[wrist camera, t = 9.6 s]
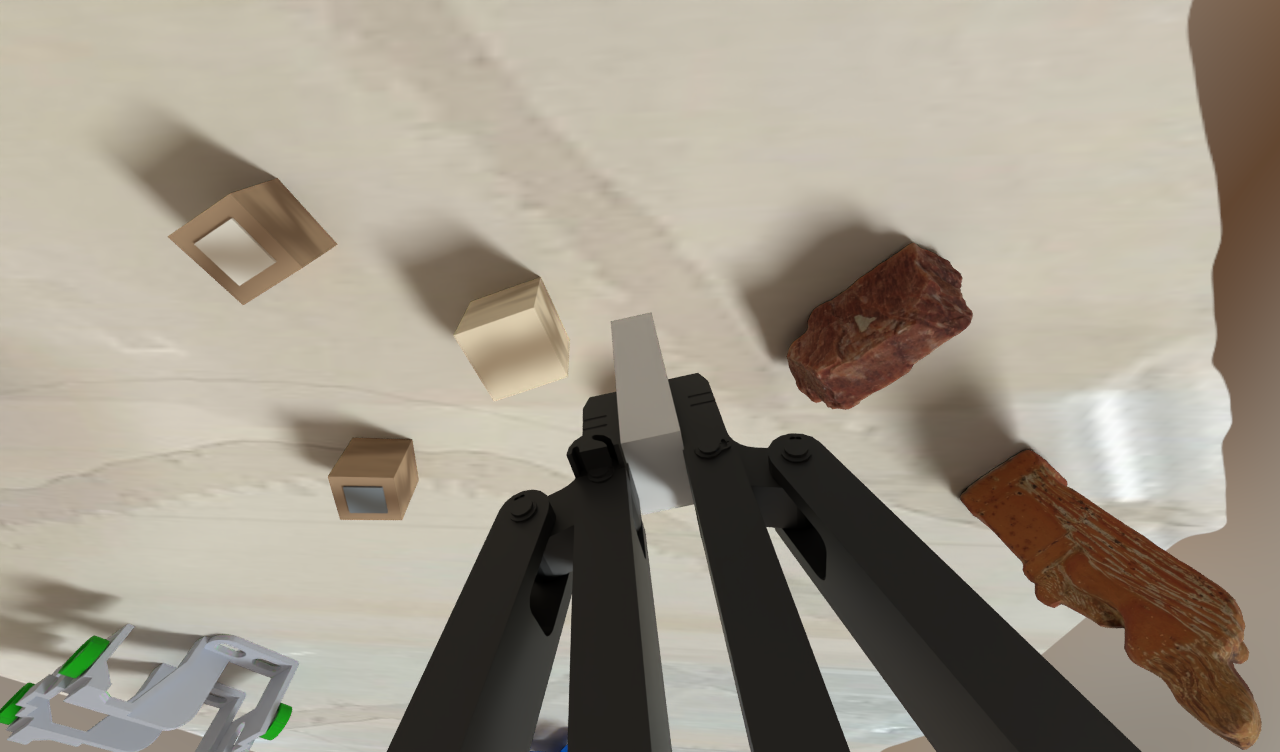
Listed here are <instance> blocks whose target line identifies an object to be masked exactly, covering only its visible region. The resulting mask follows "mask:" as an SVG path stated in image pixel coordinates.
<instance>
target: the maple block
mask: <svg viewBox="0 0 1280 752" xmlns="http://www.w3.org/2000/svg"><path fill="white" fill-rule="evenodd" d="M453 336H454V337H455V339H456V340H457V342H458V344H459V345H460V347H461V349H462V350H463V352H464V353H465V355H466V357H467V358H468V360H469V362H470V363H471V365H472V366H473V368H474V370H475V371H476V373H477V375H478V376H479V378H480V379H481V381H482V383H483V384H484V386H485V388H486V389H487V391H488V392H489V394H490V396H491V397H492V399H493V401H497V400H500V399H503V398H506V397H509V396H512V395H515V394H518V393H521V392H524V391H527V390H530V389H533V388H536V387H539V386H542V385H545V384H548V383H551V382H554V381H557V380H560V379H563V378H566V377H568V366H569V348H570V339H569V337H568V335H567V333H566V331H565V329H564V326H563V324H562V322H561V320H560V318H559V316H558V314H557V311H556V309H555V307H554V305H553V303H552V301H551V298H550V296H549V294H548V292H547V290H546V288H545V285H544V283H543V281H542V279H541V277H539V278H536V279H533V280H531V281H528V282H525V283H522V284H519V285H516V286H514V287H511V288H508V289H505V290H502V291H500V292H497V293H494V294H491V295H488V296H485V297H483V298H480V299H477V300H474V301H471V302H470V304H469V306H468V308H467V310H466V312H465V314H464V316H463V318H462V320H461V322H460V324H459V326H458V328H457V329H456V331H455V333H454V335H453Z"/></svg>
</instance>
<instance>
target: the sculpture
mask: <svg viewBox="0 0 1280 752" xmlns="http://www.w3.org/2000/svg"><path fill="white" fill-rule="evenodd" d="M960 499H961V501H962V502H963V503H964V505H965V506H966V507H967V508H968V510H969V511H970V512H971V513H972V515H973V516H975V517H977V518H978V519H979V520H981V521H982V522H983V523H984V524H985V525H987V526H988V527H989V528H990V529H991V530H992V531H993V532H994V533H995V534H996V535H997V536H998V537H999V538H1000V539H1001V540H1002V541H1003V542H1004V543H1005V544H1006V546H1007V547H1008V548H1009V549H1010V550H1011V551H1012V552H1013V553H1014V554H1015V555H1016V556H1017V557H1018V558H1019V559H1020V560H1021V562H1022V563H1023V572H1024V575H1025V576H1026V577H1027V578H1028V579H1029V580H1030V581H1031V582H1033V583H1034V584H1035V595H1036V597H1037V599H1038V600H1039V601H1041V602H1042V603H1043V604H1045V605H1047V606H1050V607H1053V608H1055V607H1057V606H1059V605H1060V604H1062V605H1065V606H1067V607H1069V608H1071V609H1073V610H1074V611H1076V612H1078V613H1080V614H1082V615H1084V616H1085V617H1087V618H1089V619H1091V620H1093V621H1094V622H1095V623H1097V624H1098V625H1100V626H1102V627H1107V628H1125V646H1124V649H1125V651H1126V653H1127V655H1128V657H1129V658H1130V660H1131V661H1132V662H1134V663H1135V664H1137V665H1138V666H1140V667H1142V668H1144V669H1146V670H1148V671H1150V672H1152V673H1154V674H1155V675H1157V676H1159V677H1161V678H1162V679H1163V680H1164V682H1166V684H1167V685H1168V687H1169V688H1170V689H1171V691H1172V693H1173V695H1174V697H1175V699H1176V700H1177V702H1178V703H1179V704H1180V705H1181V706H1182V707H1183V708H1184V709H1186V710H1187V711H1188V712H1189V713H1190V714H1191V715H1192V716H1194V717H1195V718H1196V719H1197V720H1198V721H1200V722H1201V723H1202V724H1203V725H1204V726H1205V727H1207V728H1208V729H1209V730H1211V731H1212V732H1213V733H1215V734H1217V735H1218V736H1220V737H1221V738H1223V739H1225V740H1227V741H1228V742H1230V743H1231V744H1233V745H1235V746H1237V747H1239V748H1240V749H1242V750H1245V749H1248V748H1249V747H1251V746H1252V745H1253V744H1254V743H1255V742H1256V740H1257V739H1258V737H1259V734H1260V731H1261V718H1260V714H1259V710H1258V707H1257V704H1256V702H1255V701H1254V698H1253V694H1252V693H1251V691H1250V689H1249V687H1248V685H1247V684H1246V683H1245V681H1244V680H1243V679H1242V678H1241V676H1240V675H1239V674H1238V672H1237V671H1236V669H1235V668H1234V664H1233V663H1236V664H1242V663H1243V662H1245V661H1246V660H1247V659H1248V656H1249V651H1248V649H1247V647H1246V645H1245V644H1244V642H1243V640H1244V629H1245V623H1244V621H1243V616H1242V613H1241V610H1240V608H1239V606H1238V605H1237V603H1236V601H1235V599H1234V598H1233V597H1231V596H1230V594H1229V593H1228V592H1226V591H1225V590H1224V589H1223V588H1222V587H1220V586H1219V585H1217V584H1216V583H1214V582H1213V581H1211V580H1209V579H1208V578H1206V577H1205V576H1204V575H1202V574H1201V573H1199V572H1197V571H1196V570H1195V569H1193V568H1192V567H1190V566H1188V565H1187V564H1185V563H1183V562H1181V561H1179V560H1178V559H1176V558H1175V557H1173V556H1172V555H1170V554H1169V553H1168V552H1166V551H1165V550H1163V549H1161V548H1160V547H1158V546H1157V545H1155V544H1154V543H1153V542H1151V541H1150V540H1149V539H1147V538H1146V537H1145V536H1143V535H1141V534H1140V533H1138V532H1137V531H1135V530H1133V529H1132V528H1130V527H1129V526H1127V525H1125V524H1124V523H1122V522H1121V521H1119V520H1118V519H1116V518H1115V517H1113V516H1112V515H1110V514H1109V513H1107V512H1106V511H1104V510H1103V509H1101V508H1100V507H1098V506H1097V505H1095V504H1094V503H1093V502H1091V501H1090V500H1088V499H1087V498H1085V497H1084V496H1082V495H1081V494H1079V493H1078V492H1076V491H1075V490H1073V489H1072V488H1069V487H1067V481H1066V479H1064V478H1063V477H1062V476H1061V475H1060V474H1059V473H1058V472H1057V471H1056V470H1055V469H1054V468H1053V467H1052V466H1051V465H1050V464H1049V463H1048V462H1047V461H1046V460H1045V459H1043V458H1042V457H1041V456H1039V455H1038V454H1036V453H1035V452H1034V451H1031V450H1025V451H1022V452H1020V453H1019V454H1017V455H1015V456H1013V457H1011V458H1010V459H1009V460H1007V461H1006V462H1004V463H1003V464H1001V465H1000V466H998V467H996V468H994V469H993V470H991V471H990V472H989V473H988V474H986V475H984V476H983V477H981V478H980V479H979V480H977V481H976V482H974V483H973V484H972V485H970V486H969V487H968V488H967V490H966V491H965V492H963V493H962V494H961V496H960Z"/></svg>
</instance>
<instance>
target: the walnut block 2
mask: <svg viewBox="0 0 1280 752" xmlns="http://www.w3.org/2000/svg"><path fill="white" fill-rule="evenodd" d="M328 479H329V483H330V486H331V490H332V493H333V496H334V500H335V503H336V507H337V510H338V514H339V517H340V520H402V519H403V517H404V514H405V512H406V509H407V507H408V505H409V502H410V500H411V497H412V495H413V493H414V490H415V488H416V485H417V483H418V480H419V479H418V472H417V466H416V460H415V454H414V447H413V441H412V439H380V438H352V440H351V441H350V443H349V445H348V446H347V448H346V449H345V451H344V452H343V454H342V455H341V457H340V458H339V460H338V462H337V463H336V465H335V466H334V468H333V469H332V471H331V472H330V474H329V475H328Z"/></svg>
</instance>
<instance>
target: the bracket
mask: <svg viewBox="0 0 1280 752" xmlns="http://www.w3.org/2000/svg"><path fill="white" fill-rule="evenodd" d="M134 627H135V626H133V625H130V624H127V625H125V626H124V627H123V628H121V629H120V630H118V631H117V632H116V633H114V634H113V635H111V636H110V637H108V638H107V639H103V638H100V637H97V636H95V635H94V636H92V637H91V638H90V639H88V640H87V641H86V642H85V643H84V644H83V645H82V646H81V647H80V648H79V649H78V650H77V651H76V652H75V653H74V654H73V655H72V656H71V657H70V658H69V659H68V660H67V662H66V663H65V664H63V665H62V666H60V667H59V668H58V669H56V670H55V672H54V673H53V674H52V675H50V674H49V675H48V676H47V677H45V678H44V679H42V680H41V681H40V682H38V683H37V684H32V683H27V684H26V685H25V686H23V687H22V688H21V689H20V690H19V691H18V692H17V693H16V694H15V695H14V696H13V697H12V698H11V699H10V700H9V701H8V702H7V703H6V704H5V705H4V706H3V707H2V708H1V710H0V723H3V724H7V725H9V724H10V726H9V727H8V728H7V729H6V730H7V731H11V732H13V733H12V735H10V737H9V738H8V739H7V740H9V741H13V742H17V743H22V744H28V743H29V742H31V741H32V740H52V741H56V742H60V743H64V744H68V745H72V746H76V747H78V746H79V745H80V744H82V743H83V744H87V745H90V746H94V747H98V748H102V749H106V750H109V751H113V752H138V751H140V750H142V749H144V748H146V747H147V746H149V745H150V744H152V743H153V742H154V741H155V740H156V739H157V737H158V736H159V735H160V733H161V732H162V730H163V731H167V730H173V729H177V728H179V727H181V726H183V725H184V724H186V723H187V722H189V721H190V720H191V719H192V718H193V717H194V716H195V715H196V714H197V712H198V711H199V709H200V708H201V706H202V704H203V703H205V704H208V705H211V706H214V707H217V708H220V709H219V711H218V713H217V715H216V716H215V718H214V720H213V721H212V723H211V725H210V727H209V728H208V730H207V732H206V733H205V735H204V737H203V739H202V741H201V742H200V744H199V746H198V747H197V749H196V751H195V752H249V750H250V748H251V746H252V744H253V742H254V740H255V739H256V738H258V737H261V738H264V739H267V740H273V739H274V738H275V737H277V736H278V734H279V733H280V732H281V731H282V730H283V728H284V727H285V725H286V724H287V722H288V720H289V718H290V716H291V713H292V707H291V706H288V705H286V704H283V703H280V702H281V700H282V698H283V696H284V694H285V692H286V690H287V688H288V686H289V684H290V682H291V680H292V678H293V676H294V674H295V672H296V670H297V668H298V665H299V663H298V661H296V660H294V659H291V658H289V657H286V656H284V655H282V654H279V653H277V652H274V651H272V650H269V649H267V648H265V647H262V646H260V645H257V644H255V643H253V642H250V641H248V640H245V639H243V638H240V637H238V636H234V635H228V634H222V635H216V636H213V637H211V638H209V637H207V636H204V637H202V638H201V639H199V640H198V641H196V642H195V643H194V645H193V646H192V648H191V649H190V651H189V652H188V653H187V655H186V656H185V658H184V659H183V661H182V662H181V664H180V665H179V666H178V668H176V667H173V666H170V665H167V664H164V663H163V664H161V665H160V666H158V667H157V668H155V669H154V670H153V672H152V673H151V674H150V676H149V677H148V678H147V680H146V681H145V683H144V684H143V685H142V687H141V688H140V689H139V691H138V692H137V694H136V695H135V696H134V697H132V698H131V699H130V700H128V701H124V700H120V699H117V698H114V697H111V696H110V695H109V694H108V693H107V690H108V688H109V687H110V686H111V685H112V684H111V682H110V676H109V671H108V665H107V660H108V659H109V657H110V656H111V655H112V654H113V652H114V651H115V650H116V649H117V648H118V646H119V645H120V644H121V643H122V642H123V640H124V639H125V638H126V637H127V635H128V634H129V633H130V632H131V631H132V629H133V628H134ZM220 644H226V645H229V646H232V647H234V648H237V649H239V650H242V651H244V652H237V651H235V650H232V649H230V648H227V647H225V646H222V645H220ZM257 659H264V660H267V661H269V662H272V663H274V664H277V665H279V666H273V665H270V664H267V663H265V662H262V661H260V660H257ZM228 662H231V663H233V664H236V665H238V666H241V667H244V668H246V669H249V670H251V671H254V672H257V673H259V674H262V675H265V676H267V677H270V678H271V680H270V682H269V684H268V686H267V687H266V689H265V691H264V693H263V695H262V697H261V699H260V701H259V703H258V705H257V707H256V708H255V709H254V710H252V711H250V712H249V713H247V714H245V715H243V716H242V717H240V718H238V719H236V720H235V721H233V719H234V717H235V715H236V713H237V712H238V710H239V708H240V706H241V704H242V702H243V701H244V699H245V697H246V693H245V692H243V691H240V690H237V689H234V688H231V687H229V686H226V685H223V684H220V683H217V680H218V678H219V677H220V675H221V673H222V672H223V670H224V668H225V667H226V665H227V664H228ZM61 691H62V692H65V693H68V694H69V695H68V696H67V697H66V698H65V700H64V702H67V703H70V704H73V705H77V706H80V707H84V708H87V709H91V710H94V711H97V712H101V713H104V714H108V716H107V717H106V718H104V719H103V720H102V721H100V722H99V723H98V724H96V725H95V726H94V727H92V728H91V729H90V730H88V731H87V732H85V731H81V730H78V729H74V728H71V727H67V726H63V725H60V724H56V723H52V716H51V709H50V703H49V700H50V699H51V698H52V697H54V696H55V695H57V694H58V693H60V692H61ZM209 693H213V694H216V695H219V696H221V697H224V698H220V697H217V696H214V695H211V694H209ZM232 721H233V722H232ZM241 731H242V732H241ZM240 732H241V734H240ZM239 734H240V736H239V738H238V739H237V737H238V735H239ZM236 739H237V741H236ZM235 741H236V743H235ZM234 743H235V745H234Z"/></svg>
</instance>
